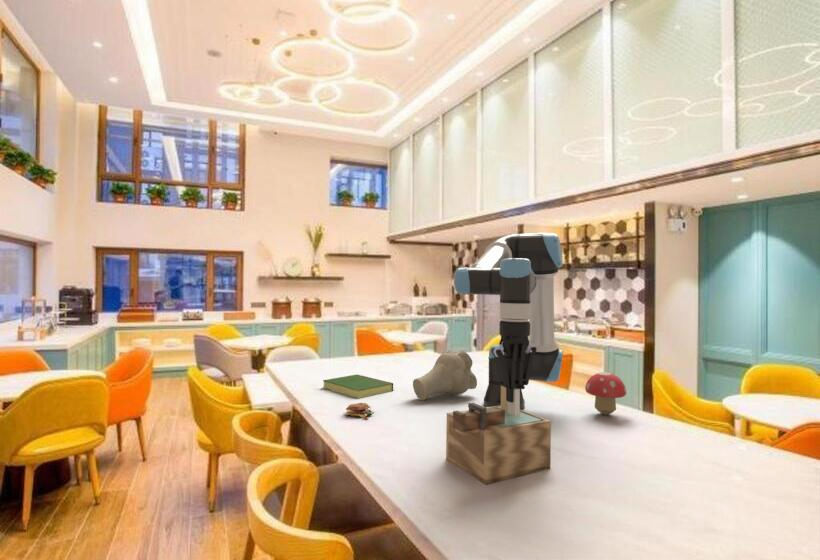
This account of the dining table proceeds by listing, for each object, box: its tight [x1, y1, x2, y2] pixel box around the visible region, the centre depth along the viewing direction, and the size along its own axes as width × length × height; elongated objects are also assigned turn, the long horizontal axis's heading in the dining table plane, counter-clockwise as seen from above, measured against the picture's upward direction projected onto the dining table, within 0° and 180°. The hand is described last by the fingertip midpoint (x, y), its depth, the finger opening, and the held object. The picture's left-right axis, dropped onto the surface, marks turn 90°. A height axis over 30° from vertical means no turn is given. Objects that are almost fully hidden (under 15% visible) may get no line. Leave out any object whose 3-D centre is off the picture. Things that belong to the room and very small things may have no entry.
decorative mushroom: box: [584, 371, 627, 415], centre depth 164 cm, size 13×13×15 cm
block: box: [452, 408, 505, 431], centre depth 111 cm, size 13×3×4 cm, turn 118°
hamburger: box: [345, 402, 375, 421], centre depth 159 cm, size 14×14×6 cm
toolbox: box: [445, 402, 552, 485], centre depth 118 cm, size 24×17×17 cm
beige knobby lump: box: [412, 349, 478, 401], centre depth 186 cm, size 22×22×28 cm
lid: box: [491, 386, 542, 428], centre depth 120 cm, size 13×14×12 cm
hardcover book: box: [322, 374, 394, 399], centre depth 198 cm, size 25×19×4 cm
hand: (513, 414), depth 116 cm, fingers closed
